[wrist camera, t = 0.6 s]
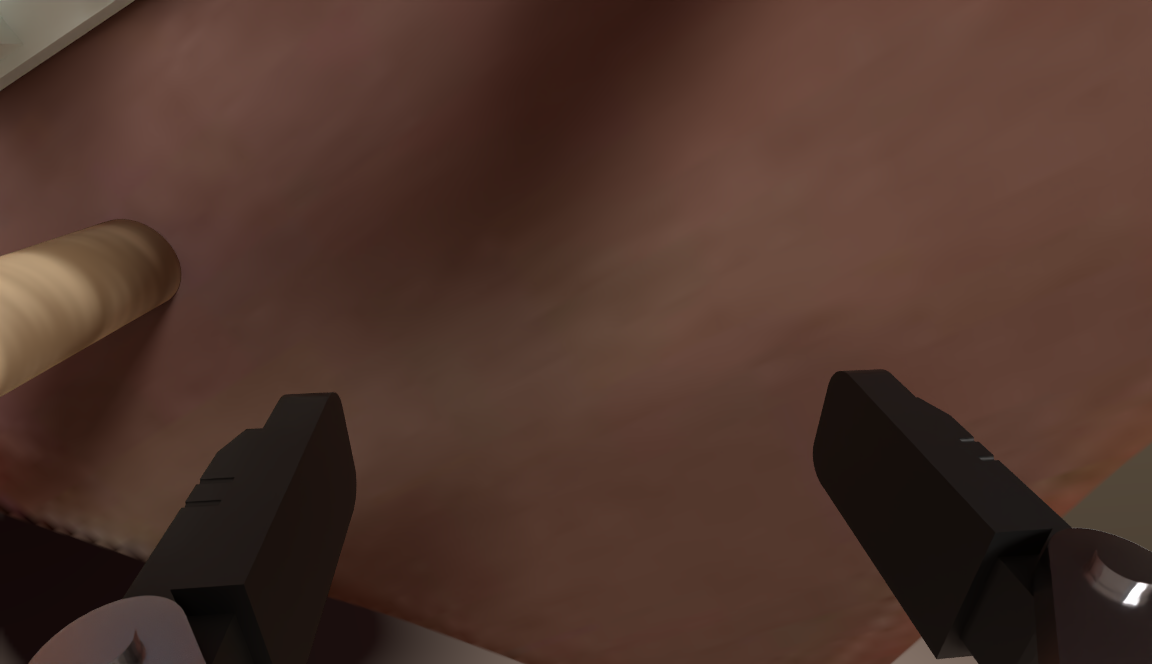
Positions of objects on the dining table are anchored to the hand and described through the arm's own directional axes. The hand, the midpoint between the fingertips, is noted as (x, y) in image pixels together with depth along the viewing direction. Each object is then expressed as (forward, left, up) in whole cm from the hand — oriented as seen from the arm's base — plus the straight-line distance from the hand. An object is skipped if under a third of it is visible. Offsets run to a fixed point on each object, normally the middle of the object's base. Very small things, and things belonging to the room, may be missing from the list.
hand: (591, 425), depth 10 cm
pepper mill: (+9, -21, -21) cm, 31 cm away
